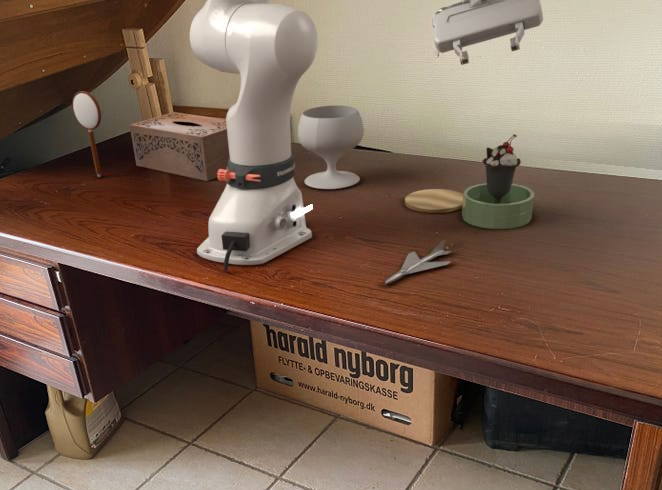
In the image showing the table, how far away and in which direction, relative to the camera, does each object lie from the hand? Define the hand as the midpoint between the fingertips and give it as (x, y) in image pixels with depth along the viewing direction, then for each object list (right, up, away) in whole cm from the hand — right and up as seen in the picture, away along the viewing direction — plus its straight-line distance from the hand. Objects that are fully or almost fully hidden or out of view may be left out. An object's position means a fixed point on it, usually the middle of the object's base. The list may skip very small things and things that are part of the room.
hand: (489, 55), depth 138 cm
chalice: (-28, -19, +21) cm, 40 cm away
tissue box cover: (-61, -10, +40) cm, 74 cm away
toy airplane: (-17, -43, -19) cm, 50 cm away
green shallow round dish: (0, -31, -3) cm, 32 cm away
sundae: (0, -31, -3) cm, 32 cm away
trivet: (-9, -27, +5) cm, 29 cm away
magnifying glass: (-83, -14, +37) cm, 92 cm away
